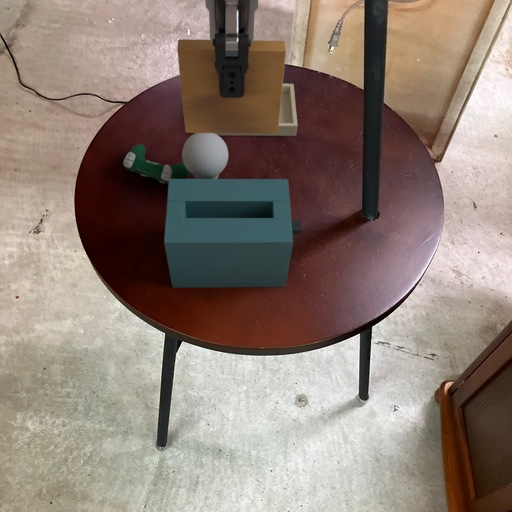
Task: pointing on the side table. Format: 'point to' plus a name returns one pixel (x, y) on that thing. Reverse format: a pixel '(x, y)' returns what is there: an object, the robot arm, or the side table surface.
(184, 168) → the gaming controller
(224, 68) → the robot arm
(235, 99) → the toast
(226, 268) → the toaster
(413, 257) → the side table surface
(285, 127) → the tray
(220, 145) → the light bulb
